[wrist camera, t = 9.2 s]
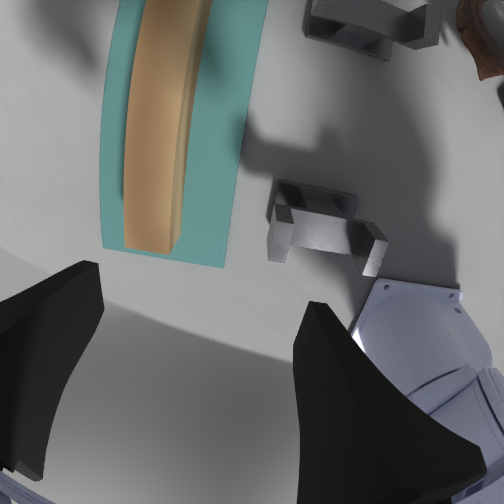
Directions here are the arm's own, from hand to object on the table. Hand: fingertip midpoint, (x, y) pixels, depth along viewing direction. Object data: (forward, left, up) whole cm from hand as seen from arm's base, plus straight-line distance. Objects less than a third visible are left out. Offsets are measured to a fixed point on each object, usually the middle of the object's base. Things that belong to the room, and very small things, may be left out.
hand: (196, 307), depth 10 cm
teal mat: (+4, -7, -10) cm, 13 cm away
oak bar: (+4, -7, -10) cm, 12 cm away
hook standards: (-5, -7, -10) cm, 13 cm away
